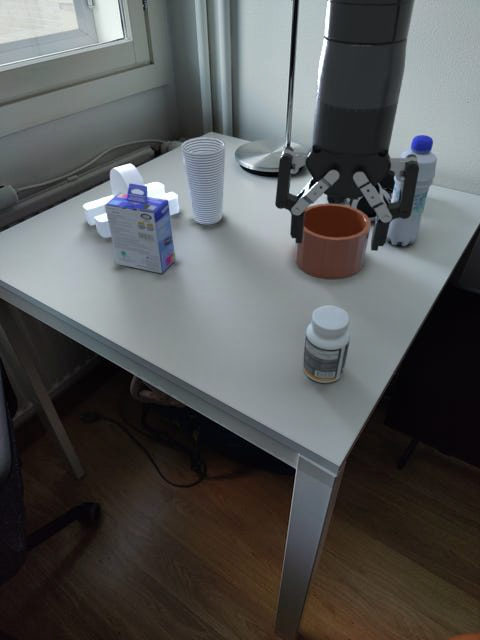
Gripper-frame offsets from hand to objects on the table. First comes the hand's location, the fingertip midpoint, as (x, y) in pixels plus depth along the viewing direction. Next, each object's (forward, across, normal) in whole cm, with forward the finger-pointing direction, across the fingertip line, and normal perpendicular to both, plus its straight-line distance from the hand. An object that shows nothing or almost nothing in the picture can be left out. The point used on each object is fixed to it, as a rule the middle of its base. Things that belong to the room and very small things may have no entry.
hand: (336, 243), depth 53 cm
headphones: (+20, +8, +49) cm, 54 cm away
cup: (+20, -26, +37) cm, 50 cm away
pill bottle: (+20, 0, -2) cm, 20 cm away
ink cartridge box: (+20, -33, +20) cm, 43 cm away
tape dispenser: (+20, -42, +36) cm, 59 cm away
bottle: (+20, +13, +35) cm, 42 cm away
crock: (+20, 0, +26) cm, 33 cm away
